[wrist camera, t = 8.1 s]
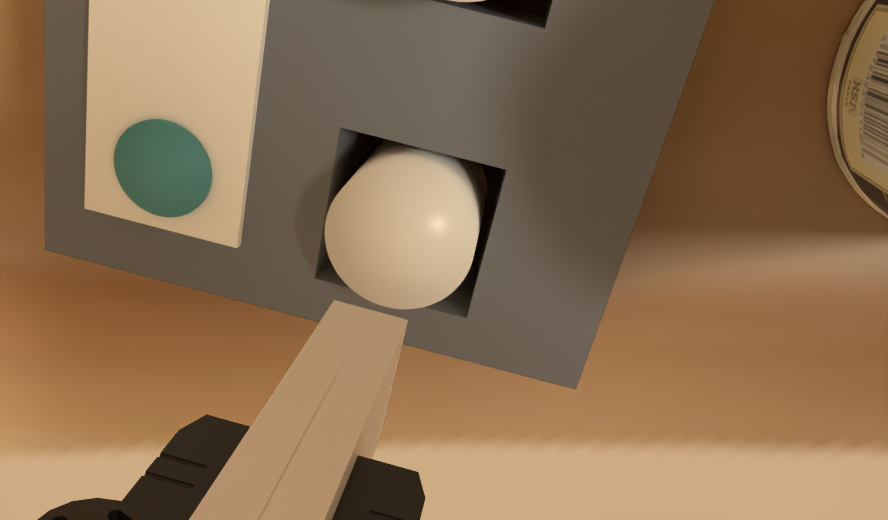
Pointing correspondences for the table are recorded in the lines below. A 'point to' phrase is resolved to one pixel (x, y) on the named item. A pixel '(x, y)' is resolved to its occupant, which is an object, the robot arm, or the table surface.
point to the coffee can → (862, 104)
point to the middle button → (466, 0)
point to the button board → (340, 141)
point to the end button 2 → (406, 225)
